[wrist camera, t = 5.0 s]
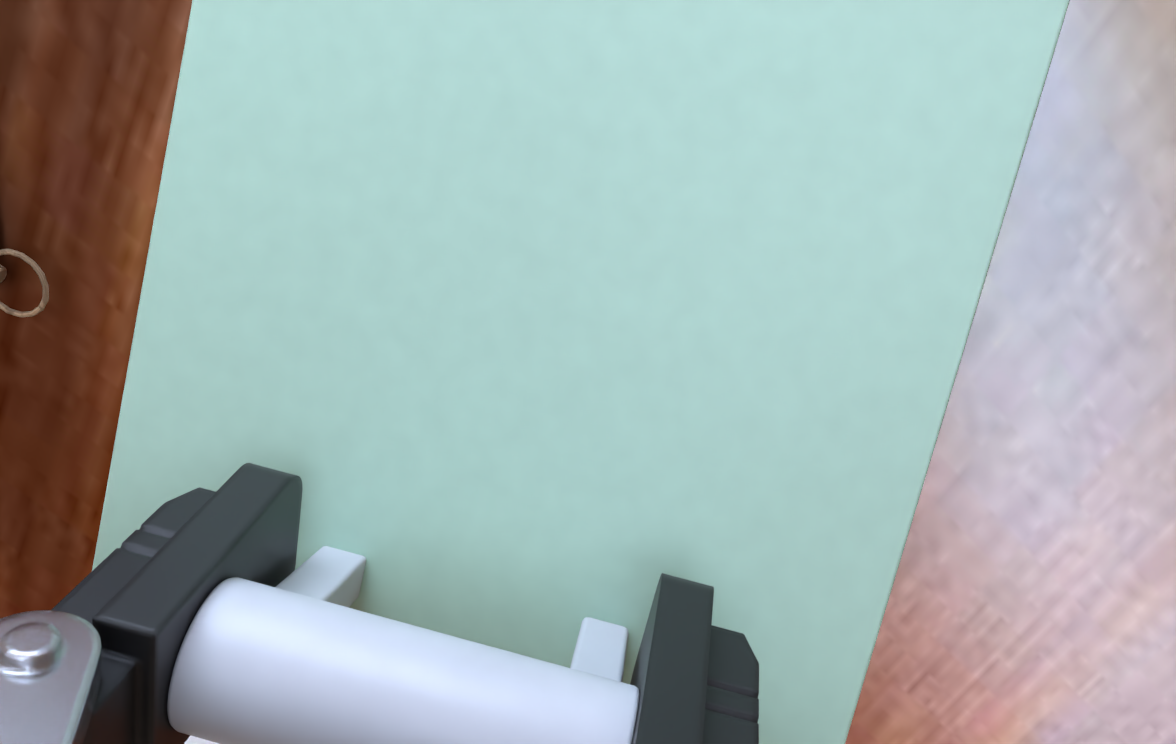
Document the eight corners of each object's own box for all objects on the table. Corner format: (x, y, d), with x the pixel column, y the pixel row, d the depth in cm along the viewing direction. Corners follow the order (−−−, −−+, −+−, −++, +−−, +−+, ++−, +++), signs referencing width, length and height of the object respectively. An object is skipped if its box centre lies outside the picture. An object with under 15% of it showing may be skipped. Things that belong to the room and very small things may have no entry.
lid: (812, 804, 16) (873, 1066, 11) (109, 609, 16) (-142, 770, 11) (1075, -74, 14) (1299, -254, 9) (265, -254, 14) (45, -518, 9)
